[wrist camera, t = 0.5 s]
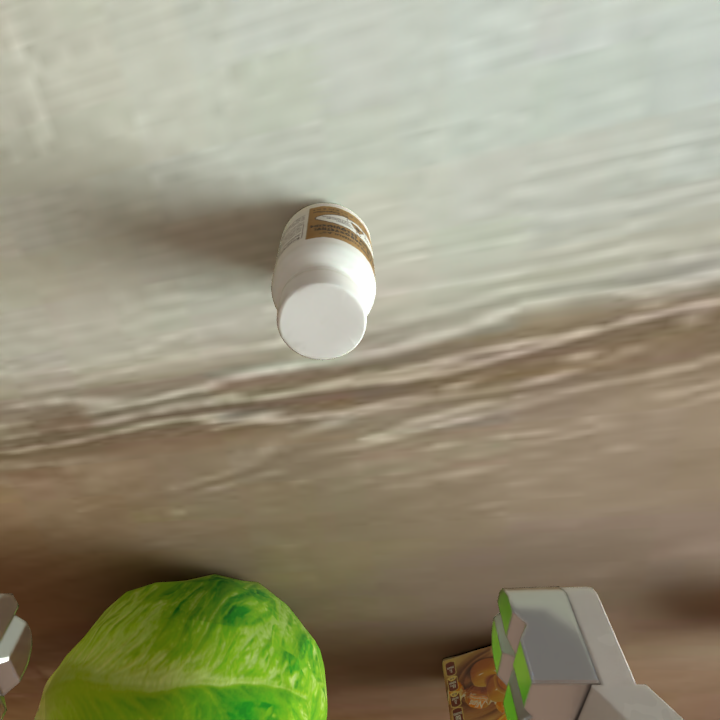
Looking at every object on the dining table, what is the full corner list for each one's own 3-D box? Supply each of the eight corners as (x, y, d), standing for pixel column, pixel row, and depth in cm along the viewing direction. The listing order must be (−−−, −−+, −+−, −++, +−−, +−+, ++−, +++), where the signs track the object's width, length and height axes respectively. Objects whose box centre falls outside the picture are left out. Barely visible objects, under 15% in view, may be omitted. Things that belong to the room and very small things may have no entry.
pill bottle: (389, 236, 28) (403, 314, 22) (335, 300, 30) (332, 388, 24) (317, 181, 27) (308, 246, 20) (264, 251, 29) (241, 331, 22)
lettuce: (54, 534, 43) (-111, 753, 30) (315, 512, 39) (260, 748, 26) (138, 676, 50) (36, 900, 37) (364, 667, 47) (340, 913, 33)
